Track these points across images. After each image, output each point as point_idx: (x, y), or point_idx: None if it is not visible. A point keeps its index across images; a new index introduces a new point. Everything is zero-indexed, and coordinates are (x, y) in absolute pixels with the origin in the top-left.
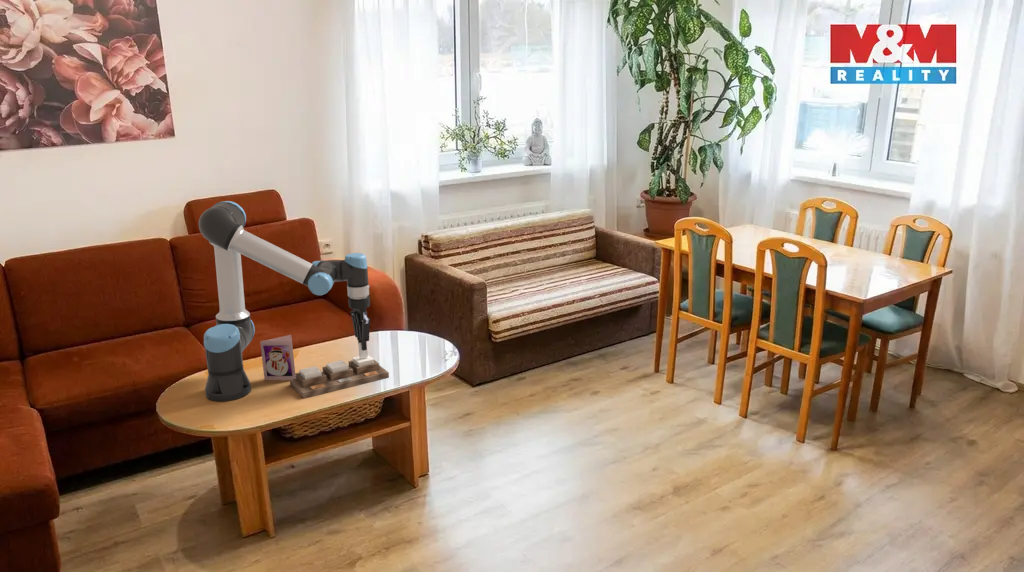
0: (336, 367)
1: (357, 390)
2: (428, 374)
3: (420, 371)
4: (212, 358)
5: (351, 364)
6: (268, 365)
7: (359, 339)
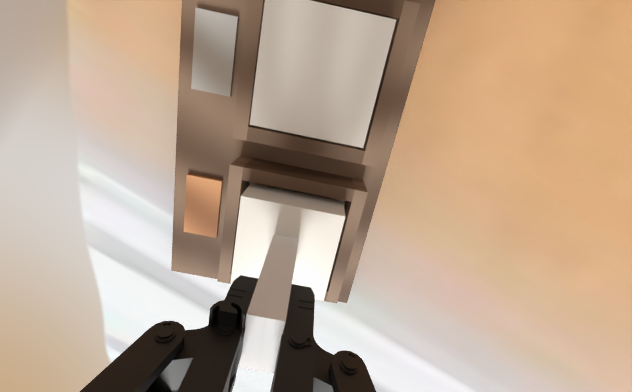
0: (269, 33)
1: (130, 69)
2: None
3: None
4: None
5: (319, 180)
6: None
7: (280, 344)
